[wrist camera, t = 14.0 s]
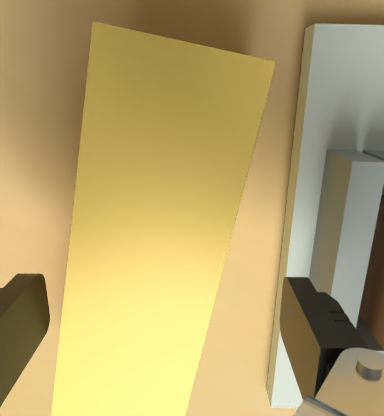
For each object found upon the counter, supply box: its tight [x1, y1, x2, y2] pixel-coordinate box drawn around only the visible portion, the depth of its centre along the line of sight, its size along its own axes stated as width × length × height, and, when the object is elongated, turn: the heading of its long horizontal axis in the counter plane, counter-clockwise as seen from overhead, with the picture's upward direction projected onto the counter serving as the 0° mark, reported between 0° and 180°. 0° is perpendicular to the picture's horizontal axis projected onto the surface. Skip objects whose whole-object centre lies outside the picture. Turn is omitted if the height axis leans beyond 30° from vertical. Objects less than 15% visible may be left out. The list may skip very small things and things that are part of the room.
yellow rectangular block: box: [51, 21, 276, 416], centre depth 15 cm, size 5×16×6 cm, turn 169°
